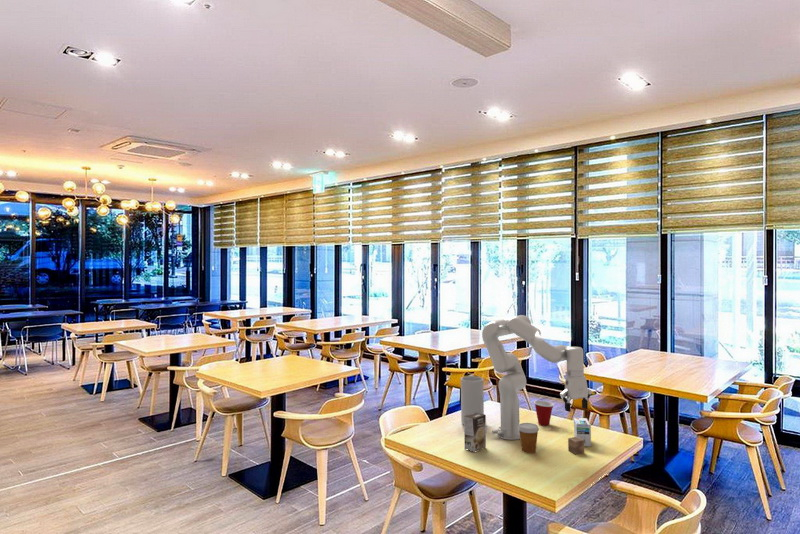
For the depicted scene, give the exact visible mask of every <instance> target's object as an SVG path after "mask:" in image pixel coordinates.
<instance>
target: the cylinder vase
mask: <svg viewBox="0 0 800 534" xmlns="http://www.w3.org/2000/svg"><path fill="white" fill-rule="evenodd" d="M484 394H485V393H484V377H481V376H471V375H470V376H462V377H460V410H461V412H460V413H461V414H460V417H461V418H460V419H461V421H460V422H461V424H462V425H464V416H466V415H469V414H473V413H480V414H484V415H485V413H484V411H485V410H484V409H485V404H484V403H485V402H484V401H485V400H484V398H485V397H484Z"/></svg>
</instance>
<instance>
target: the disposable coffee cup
mask: <svg viewBox="0 0 800 534" xmlns="http://www.w3.org/2000/svg"><path fill="white" fill-rule="evenodd" d="M518 429H519V432H520V439H519V440H520V446H521V452H522V453H526V454H535V453H536V451H537V444H538V434H539V430H540V428H539V426H538V425H537V424H536V423H532V422H522V423H521V422H520V423H519V427H518Z"/></svg>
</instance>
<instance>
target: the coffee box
mask: <svg viewBox="0 0 800 534" xmlns="http://www.w3.org/2000/svg"><path fill="white" fill-rule="evenodd" d="M486 417H487V416H486V414H485V413H484V414H480V413H473V414H469V415H466V416H464V424H463V425H464V450H465V449H468V450H470V451H469V452H472V451H473V452H472V453H476V452H475V451H477V452H479V451H481V450H480V449H482V448H484V449H486V448H485V447H487V443H486V442H487V441H486V440H487V439H486V438H487V435H486V434H487V429H486V428H487V425H486V424H487V421H486V420H487V419H486ZM468 450H467V451H468ZM478 450H479V451H478ZM482 450H483V449H482Z"/></svg>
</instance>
